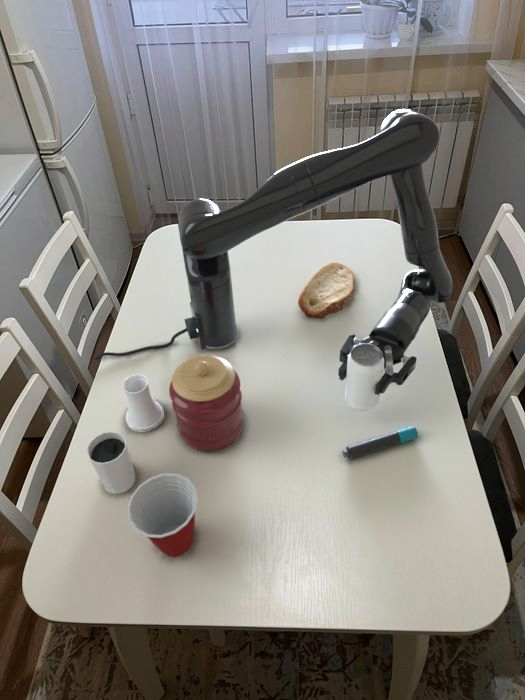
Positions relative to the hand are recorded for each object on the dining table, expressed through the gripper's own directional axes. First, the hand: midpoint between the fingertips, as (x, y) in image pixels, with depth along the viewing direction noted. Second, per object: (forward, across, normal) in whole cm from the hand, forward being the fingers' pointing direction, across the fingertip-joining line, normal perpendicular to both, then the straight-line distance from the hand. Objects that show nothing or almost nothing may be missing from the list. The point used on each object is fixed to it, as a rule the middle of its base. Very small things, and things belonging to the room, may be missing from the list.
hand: (358, 384), depth 98 cm
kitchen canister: (+15, -24, +12) cm, 30 cm away
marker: (+2, +6, +11) cm, 13 cm away
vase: (+20, -37, +11) cm, 43 cm away
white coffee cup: (+34, -31, +11) cm, 47 cm away
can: (-2, 0, +7) cm, 7 cm away
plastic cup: (+37, -14, +11) cm, 42 cm away
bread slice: (-34, -25, +12) cm, 44 cm away
